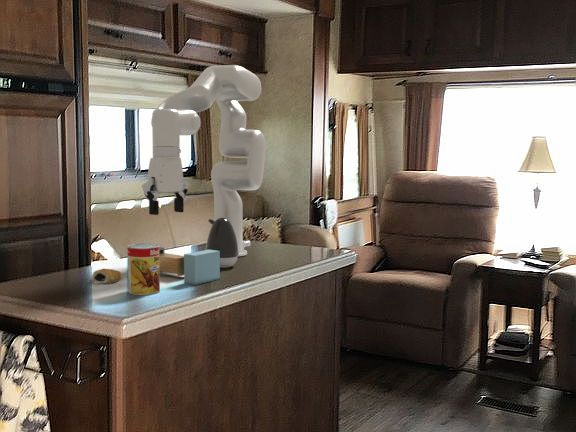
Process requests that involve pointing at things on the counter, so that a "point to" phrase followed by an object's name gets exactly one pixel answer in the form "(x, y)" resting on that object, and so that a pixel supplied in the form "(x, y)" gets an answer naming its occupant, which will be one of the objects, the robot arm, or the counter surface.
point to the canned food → (143, 269)
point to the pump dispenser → (223, 241)
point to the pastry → (105, 276)
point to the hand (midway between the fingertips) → (166, 213)
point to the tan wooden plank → (171, 263)
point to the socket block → (201, 267)
